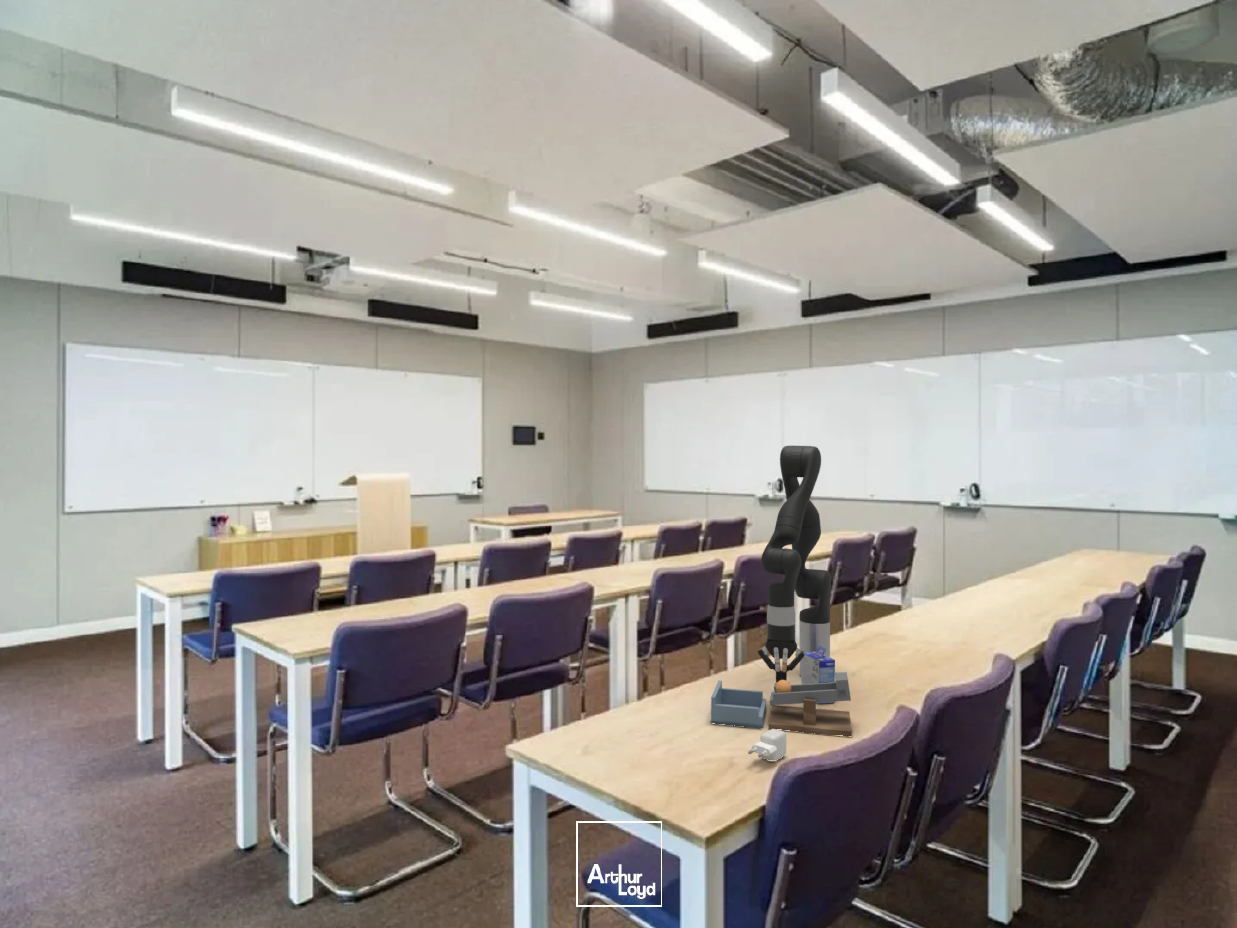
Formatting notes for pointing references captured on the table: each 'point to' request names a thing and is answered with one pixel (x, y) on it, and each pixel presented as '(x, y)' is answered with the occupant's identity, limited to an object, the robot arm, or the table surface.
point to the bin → (737, 707)
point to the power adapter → (771, 745)
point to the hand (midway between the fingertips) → (781, 684)
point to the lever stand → (810, 719)
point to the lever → (814, 692)
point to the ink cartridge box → (817, 668)
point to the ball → (783, 686)
